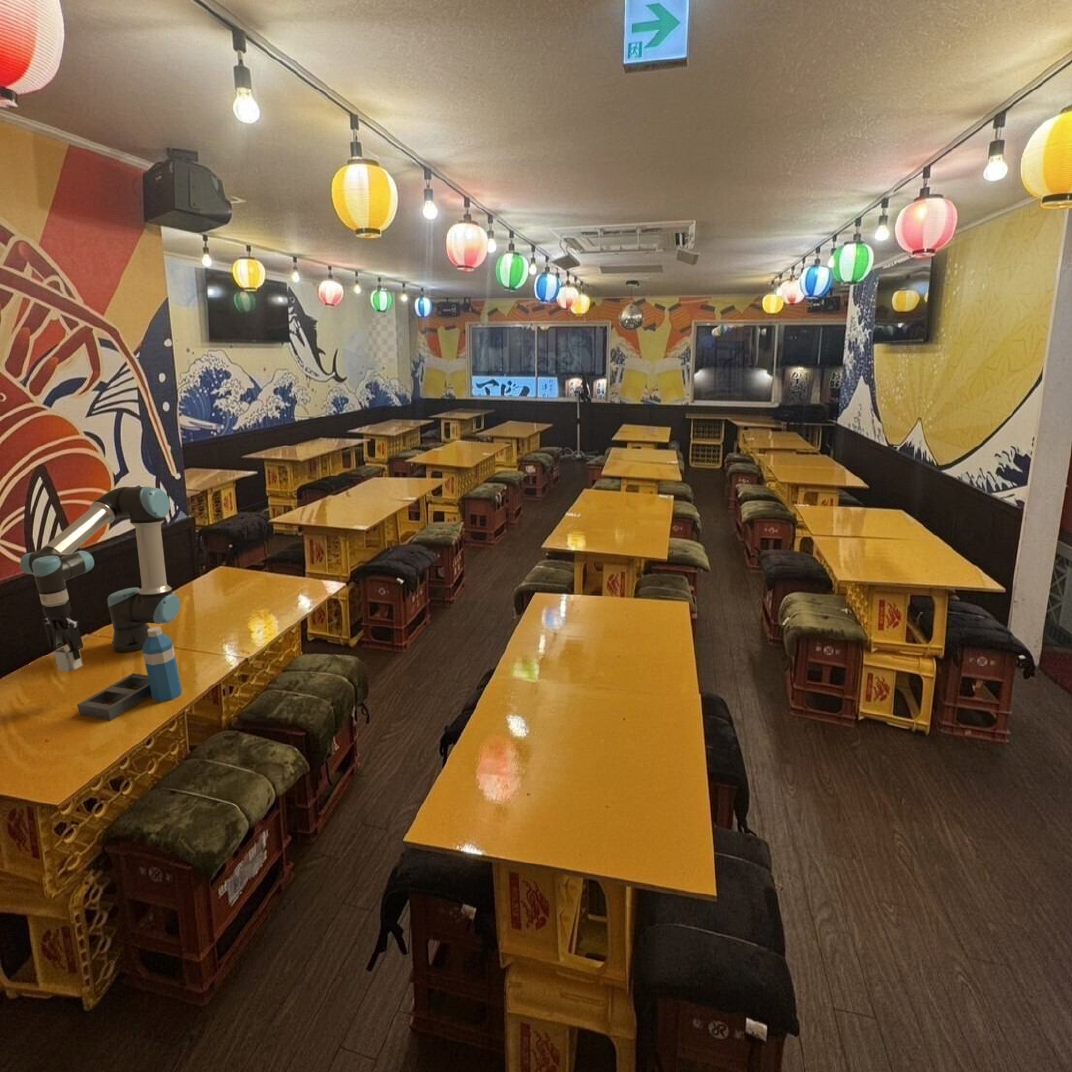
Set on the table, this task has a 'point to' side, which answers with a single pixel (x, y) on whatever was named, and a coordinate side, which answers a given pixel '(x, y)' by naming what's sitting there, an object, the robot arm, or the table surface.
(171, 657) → the water bottle
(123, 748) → the table surface
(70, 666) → the brushed gray brick
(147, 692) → the grey compartment tray
